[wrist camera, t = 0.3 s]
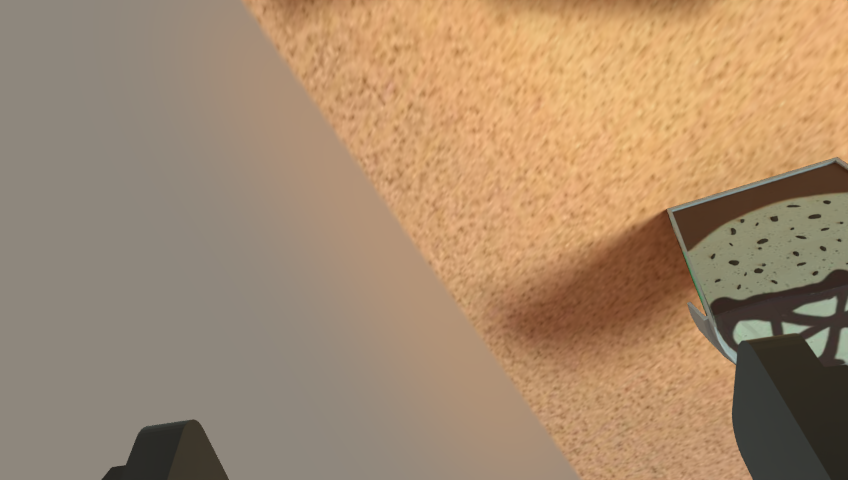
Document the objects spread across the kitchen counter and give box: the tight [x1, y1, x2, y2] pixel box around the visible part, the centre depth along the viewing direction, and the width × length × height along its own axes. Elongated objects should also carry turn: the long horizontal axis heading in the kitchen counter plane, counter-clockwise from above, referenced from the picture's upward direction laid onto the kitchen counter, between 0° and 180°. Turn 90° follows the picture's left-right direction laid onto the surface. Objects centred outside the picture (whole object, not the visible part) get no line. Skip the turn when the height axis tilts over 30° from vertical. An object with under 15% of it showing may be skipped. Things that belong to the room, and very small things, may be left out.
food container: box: [667, 157, 848, 367], centre depth 38 cm, size 12×6×10 cm, turn 110°
